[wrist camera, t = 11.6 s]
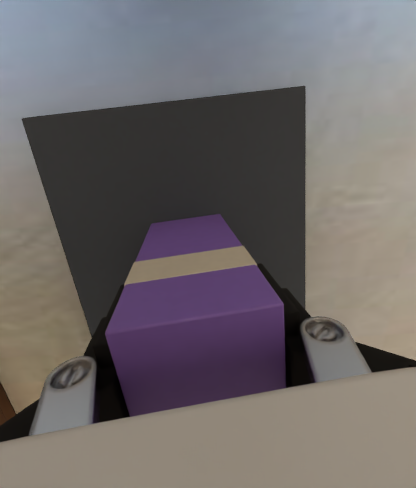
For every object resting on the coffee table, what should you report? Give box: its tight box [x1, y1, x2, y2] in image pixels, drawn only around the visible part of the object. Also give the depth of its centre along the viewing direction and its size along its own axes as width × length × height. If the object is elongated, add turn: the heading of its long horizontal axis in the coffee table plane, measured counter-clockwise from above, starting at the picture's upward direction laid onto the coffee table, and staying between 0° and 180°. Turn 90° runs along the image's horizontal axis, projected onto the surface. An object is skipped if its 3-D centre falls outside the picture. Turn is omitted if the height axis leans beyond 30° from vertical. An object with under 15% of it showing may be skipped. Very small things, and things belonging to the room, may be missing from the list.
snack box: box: [105, 214, 286, 417], centre depth 12 cm, size 5×4×11 cm
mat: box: [22, 86, 305, 337], centre depth 18 cm, size 20×16×1 cm
